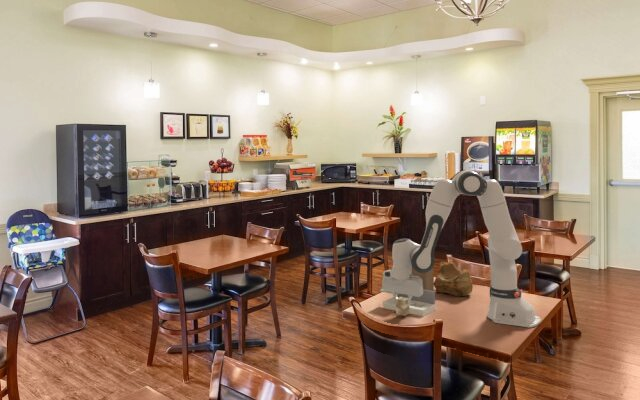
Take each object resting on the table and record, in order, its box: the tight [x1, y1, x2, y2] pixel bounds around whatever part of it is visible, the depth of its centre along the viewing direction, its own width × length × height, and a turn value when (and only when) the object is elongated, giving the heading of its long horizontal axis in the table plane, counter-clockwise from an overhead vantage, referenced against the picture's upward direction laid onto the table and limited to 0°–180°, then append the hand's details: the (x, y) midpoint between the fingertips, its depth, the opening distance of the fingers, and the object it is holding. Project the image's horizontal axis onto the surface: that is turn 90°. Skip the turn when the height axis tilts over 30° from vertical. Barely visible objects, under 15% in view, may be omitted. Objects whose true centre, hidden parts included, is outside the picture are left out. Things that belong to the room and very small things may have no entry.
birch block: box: [395, 297, 409, 317], centre depth 229 cm, size 4×4×7 cm
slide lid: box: [379, 288, 400, 295], centre depth 243 cm, size 10×10×4 cm
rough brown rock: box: [434, 261, 474, 297], centre depth 264 cm, size 23×17×15 cm
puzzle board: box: [382, 290, 436, 318], centre depth 239 cm, size 22×12×9 cm, turn 50°
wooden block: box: [412, 266, 435, 292], centre depth 254 cm, size 10×10×20 cm
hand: (402, 302), depth 229 cm, fingers closed on birch block, 4 cm apart
